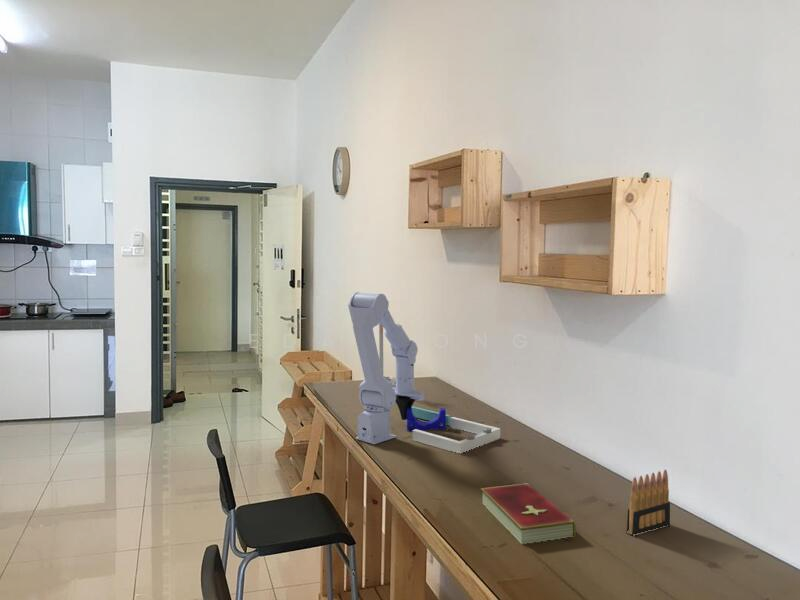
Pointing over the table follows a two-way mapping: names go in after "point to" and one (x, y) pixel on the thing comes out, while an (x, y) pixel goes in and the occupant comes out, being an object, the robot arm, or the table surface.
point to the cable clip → (423, 426)
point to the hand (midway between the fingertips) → (405, 419)
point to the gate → (427, 414)
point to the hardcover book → (527, 513)
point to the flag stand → (393, 382)
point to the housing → (472, 441)
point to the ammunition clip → (649, 503)
